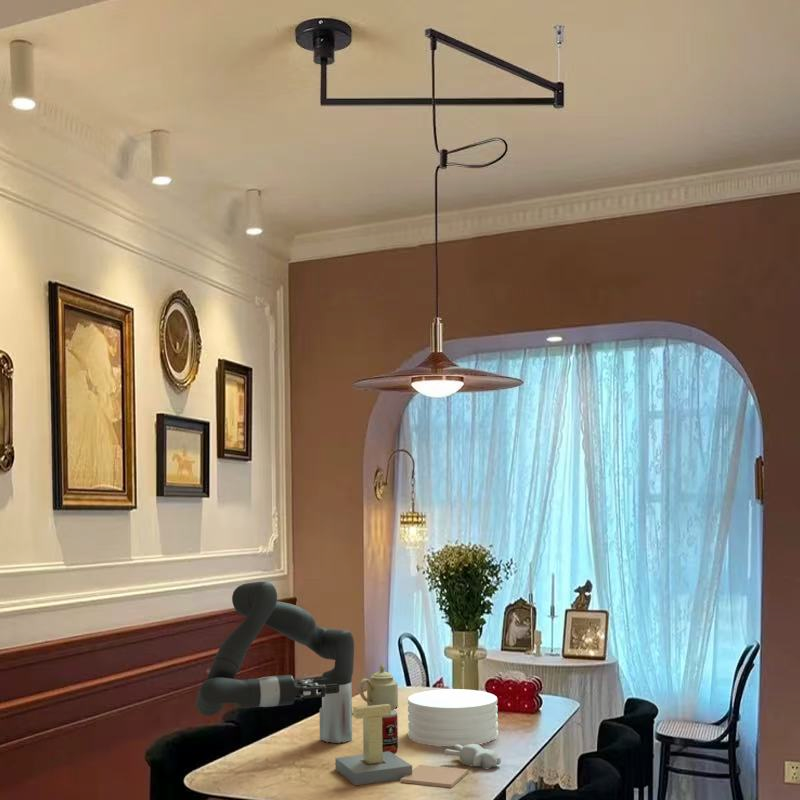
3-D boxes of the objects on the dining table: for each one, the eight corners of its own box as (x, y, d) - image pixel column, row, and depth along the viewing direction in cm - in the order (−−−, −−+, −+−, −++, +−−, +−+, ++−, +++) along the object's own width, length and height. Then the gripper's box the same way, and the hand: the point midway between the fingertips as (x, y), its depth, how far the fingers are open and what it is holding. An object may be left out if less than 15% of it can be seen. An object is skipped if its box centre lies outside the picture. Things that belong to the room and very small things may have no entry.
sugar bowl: (386, 713, 319) (386, 669, 321) (357, 711, 323) (357, 667, 325) (402, 704, 333) (401, 662, 335) (374, 702, 337) (373, 660, 339)
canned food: (379, 755, 266) (378, 716, 267) (367, 749, 273) (366, 711, 274) (402, 752, 270) (402, 713, 271) (390, 746, 277) (389, 708, 278)
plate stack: (466, 752, 269) (465, 711, 270) (390, 738, 286) (389, 700, 287) (514, 732, 291) (513, 695, 292) (441, 721, 308) (441, 685, 309)
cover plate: (355, 785, 238) (355, 773, 239) (335, 769, 253) (335, 758, 253) (412, 777, 245) (412, 765, 245) (389, 762, 259) (389, 751, 260)
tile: (400, 782, 240) (400, 779, 241) (419, 767, 253) (419, 764, 253) (451, 787, 235) (451, 784, 235) (468, 772, 248) (468, 769, 248)
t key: (358, 777, 245) (357, 709, 247) (353, 773, 249) (352, 706, 251) (393, 772, 249) (392, 706, 251) (387, 769, 253) (386, 703, 255)
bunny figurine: (490, 757, 248) (442, 743, 257) (488, 776, 248) (440, 762, 256) (505, 749, 256) (459, 736, 264) (504, 768, 256) (457, 754, 264)
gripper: (282, 680, 235) (342, 675, 241) (267, 671, 248) (325, 666, 254) (282, 711, 234) (342, 704, 240) (267, 700, 247) (325, 694, 253)
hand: (333, 685), depth 247 cm, fingers open, 8 cm apart
